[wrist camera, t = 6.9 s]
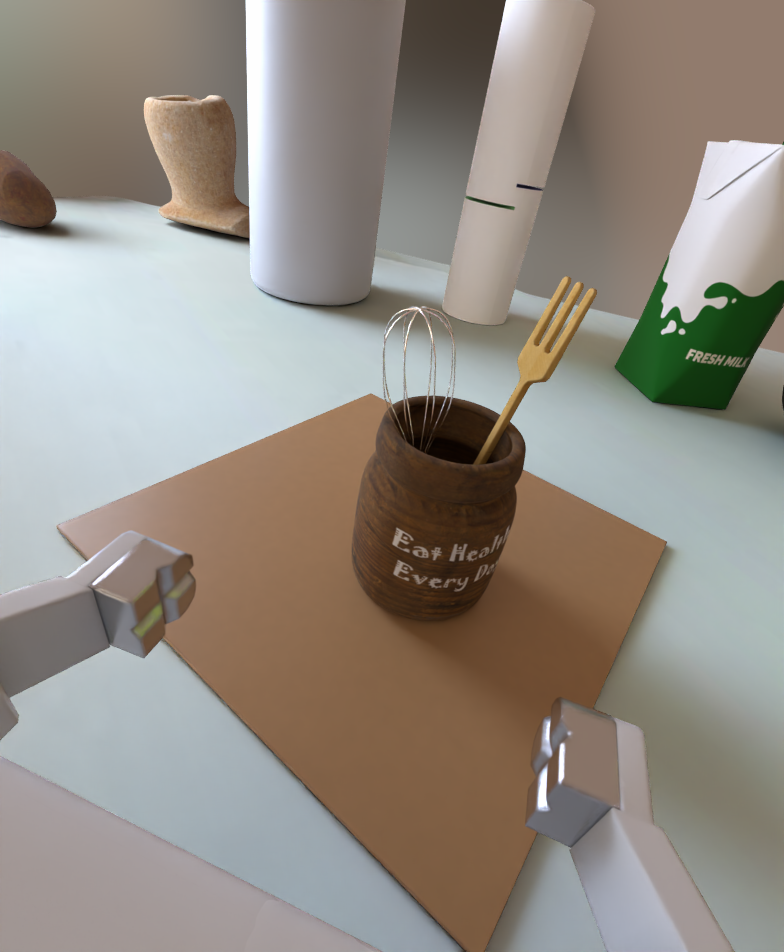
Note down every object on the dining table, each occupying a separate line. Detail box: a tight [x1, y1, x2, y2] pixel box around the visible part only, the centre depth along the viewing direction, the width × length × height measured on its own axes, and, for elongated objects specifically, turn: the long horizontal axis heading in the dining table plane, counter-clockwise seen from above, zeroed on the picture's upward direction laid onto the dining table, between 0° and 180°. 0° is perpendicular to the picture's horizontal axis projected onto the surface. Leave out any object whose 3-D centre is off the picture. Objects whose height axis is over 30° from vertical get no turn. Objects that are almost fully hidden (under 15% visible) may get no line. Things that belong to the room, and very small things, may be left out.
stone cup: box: [144, 95, 250, 238], centre depth 63 cm, size 15×12×15 cm
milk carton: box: [615, 140, 784, 410], centre depth 38 cm, size 9×9×20 cm
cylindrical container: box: [442, 0, 595, 325], centre depth 46 cm, size 7×7×25 cm
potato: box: [0, 150, 57, 228], centre depth 53 cm, size 7×10×7 cm
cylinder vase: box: [246, 0, 405, 305], centre depth 45 cm, size 12×12×25 cm
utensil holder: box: [351, 276, 597, 621], centre depth 17 cm, size 6×6×12 cm
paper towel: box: [57, 394, 667, 952], centre depth 22 cm, size 20×20×1 cm
